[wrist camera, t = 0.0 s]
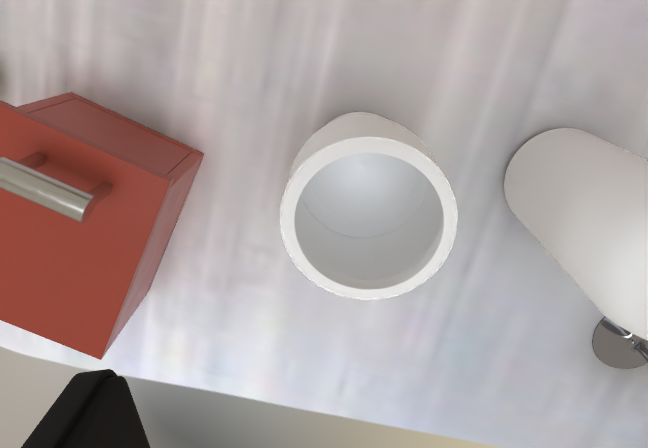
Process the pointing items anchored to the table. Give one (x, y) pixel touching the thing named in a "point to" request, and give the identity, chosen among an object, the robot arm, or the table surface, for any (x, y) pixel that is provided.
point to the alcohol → (588, 217)
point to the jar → (367, 209)
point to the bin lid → (70, 230)
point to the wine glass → (619, 346)
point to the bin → (140, 148)
